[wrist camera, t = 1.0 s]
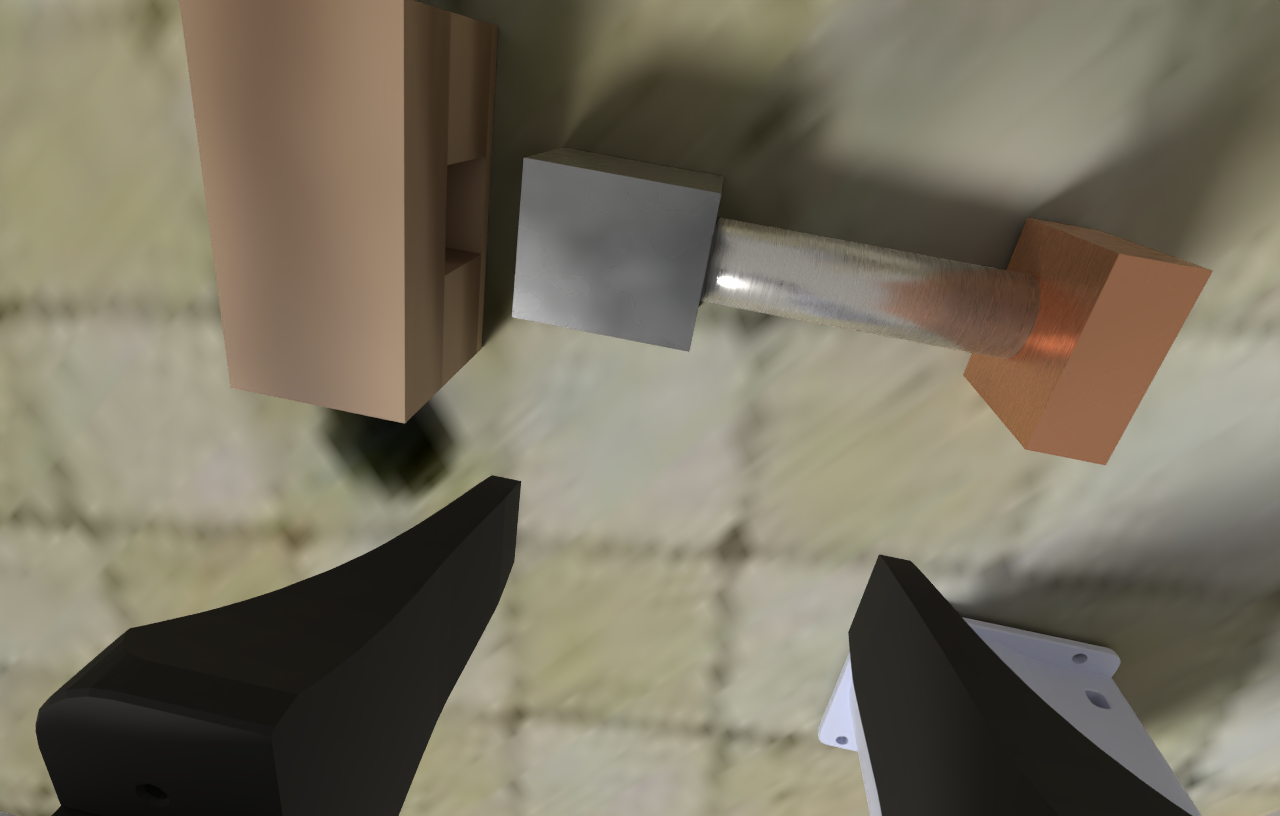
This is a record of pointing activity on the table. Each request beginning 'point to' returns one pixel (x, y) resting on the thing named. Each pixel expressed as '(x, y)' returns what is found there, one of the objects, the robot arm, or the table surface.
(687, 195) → the grey channel block
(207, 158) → the socket block
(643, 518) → the table surface
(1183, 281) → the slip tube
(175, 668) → the robot arm
